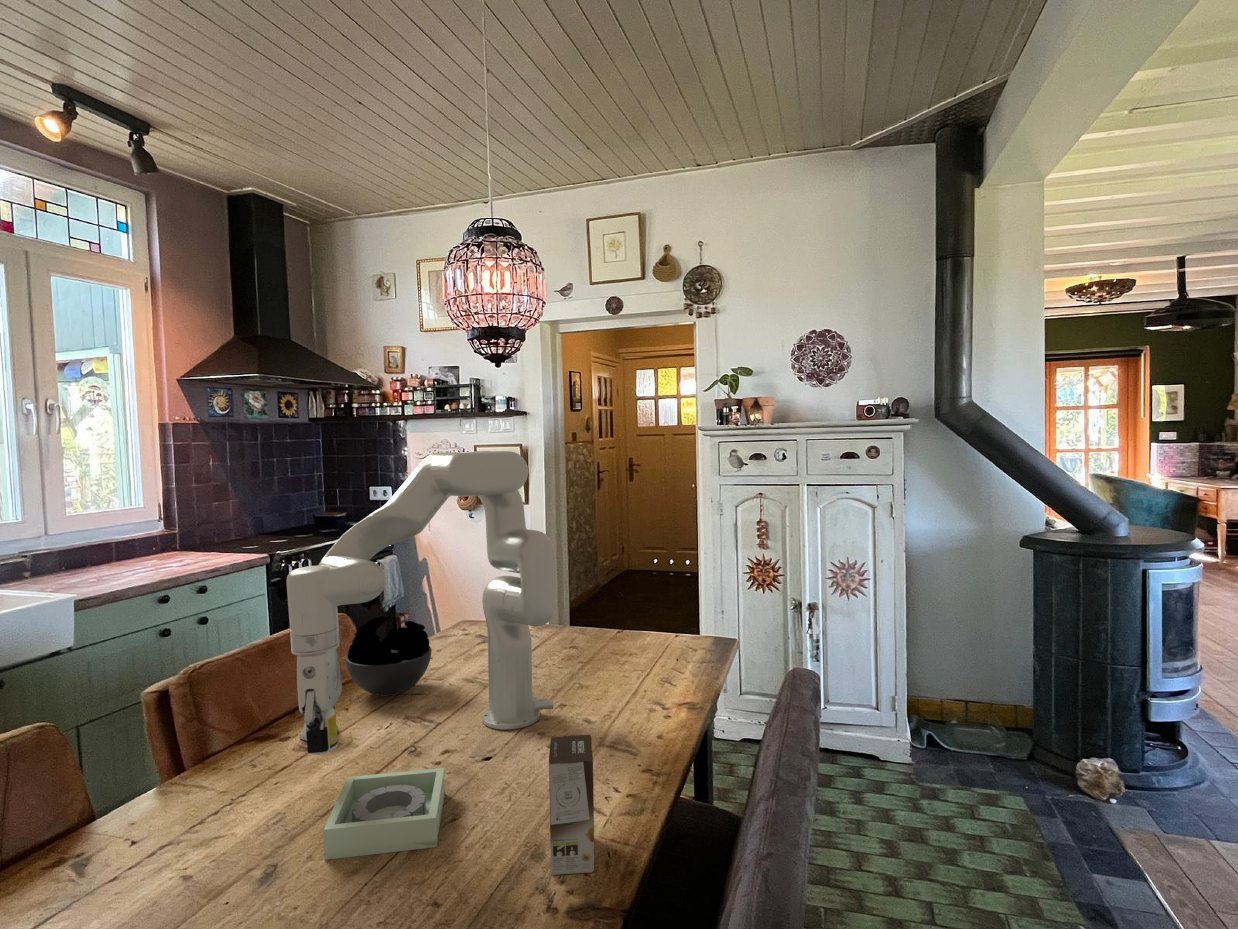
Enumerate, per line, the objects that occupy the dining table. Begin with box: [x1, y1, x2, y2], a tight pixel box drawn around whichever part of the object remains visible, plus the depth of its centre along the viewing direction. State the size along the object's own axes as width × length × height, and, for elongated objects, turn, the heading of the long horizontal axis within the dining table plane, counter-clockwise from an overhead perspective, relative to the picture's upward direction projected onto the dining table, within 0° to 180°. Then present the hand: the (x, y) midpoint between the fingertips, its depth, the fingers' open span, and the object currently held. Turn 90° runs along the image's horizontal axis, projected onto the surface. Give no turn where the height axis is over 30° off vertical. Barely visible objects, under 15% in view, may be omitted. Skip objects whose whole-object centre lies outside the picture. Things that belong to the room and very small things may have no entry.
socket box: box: [323, 767, 446, 861], centre depth 108 cm, size 16×16×4 cm
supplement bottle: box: [309, 707, 339, 756], centre depth 115 cm, size 5×5×8 cm
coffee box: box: [548, 734, 595, 876], centre depth 99 cm, size 9×6×16 cm
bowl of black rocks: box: [345, 615, 432, 697], centre depth 166 cm, size 20×20×19 cm
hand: (322, 742), depth 115 cm, fingers closed on supplement bottle, 4 cm apart
